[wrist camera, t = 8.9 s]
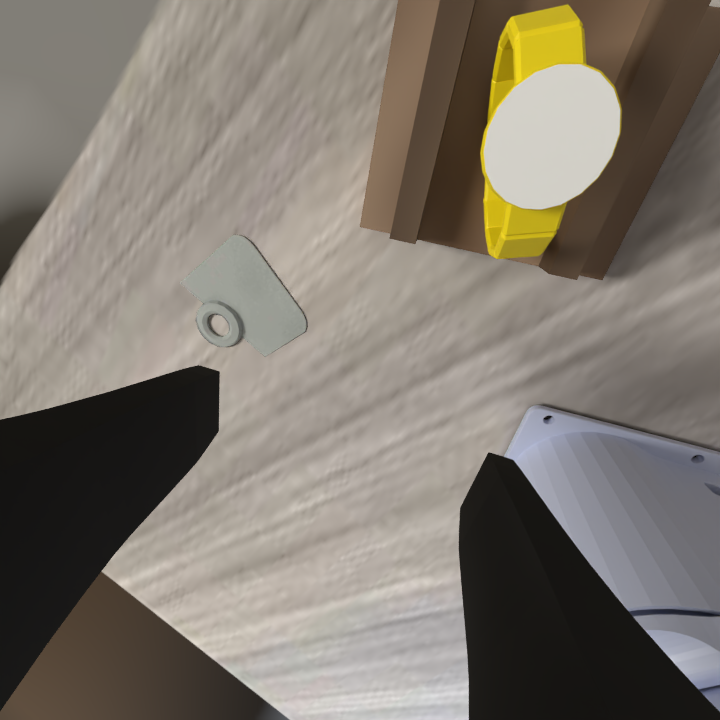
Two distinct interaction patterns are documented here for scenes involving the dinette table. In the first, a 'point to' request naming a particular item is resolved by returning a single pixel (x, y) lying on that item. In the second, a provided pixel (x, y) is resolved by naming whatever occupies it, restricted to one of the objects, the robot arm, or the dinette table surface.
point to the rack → (469, 119)
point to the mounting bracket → (244, 298)
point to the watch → (542, 130)
